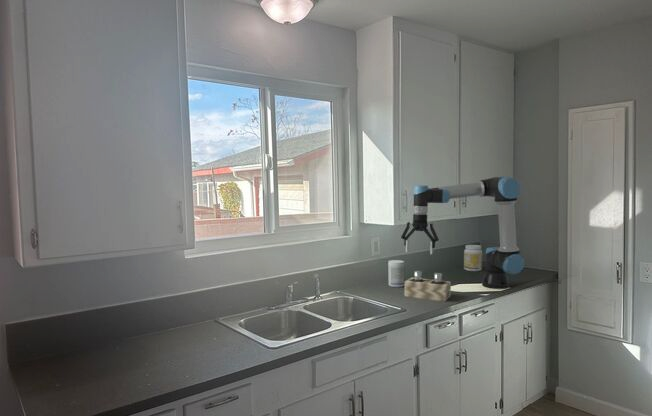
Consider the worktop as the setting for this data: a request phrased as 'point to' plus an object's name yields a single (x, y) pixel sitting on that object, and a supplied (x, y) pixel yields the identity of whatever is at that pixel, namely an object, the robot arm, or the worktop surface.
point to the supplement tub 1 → (396, 273)
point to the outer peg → (418, 276)
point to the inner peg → (438, 278)
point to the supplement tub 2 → (473, 258)
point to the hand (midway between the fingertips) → (419, 252)
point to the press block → (427, 289)
